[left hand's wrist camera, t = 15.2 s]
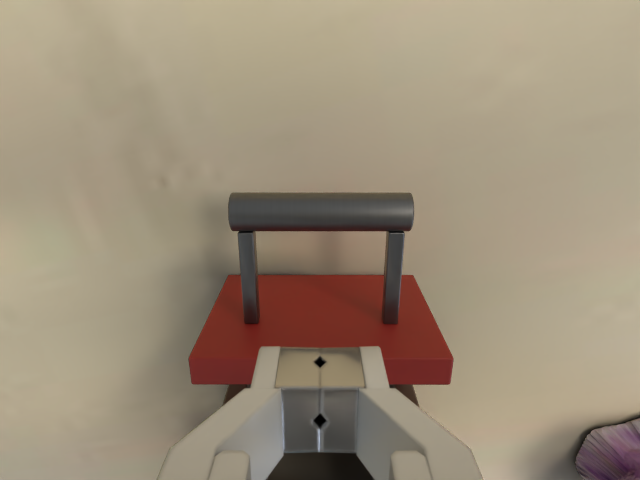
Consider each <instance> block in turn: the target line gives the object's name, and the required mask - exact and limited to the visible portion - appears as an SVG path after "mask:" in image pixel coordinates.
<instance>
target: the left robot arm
mask: <svg viewBox="0 0 640 480" xmlns="http://www.w3.org/2000/svg"><path fill="white" fill-rule="evenodd" d="M311 452H328V453H357V454H356V455H357V456H358V458H359V459H360V461H361V462H362V463H363V465H364V466H365V467H366V469H367V470H368V471H369V473H370V474H371V476H372V477H373V478H374V480H483V477H482V475H481V473H480V470H479V468H478V465H477V463H476V460H475V458H474V456H473V453H472V451H471V449H470V448H469V447H467V446H466V445H465V444H464V443H462V442H461V441H460V440H459V439H457V438H456V437H455V436H454V435H453V434H451V433H450V432H449V431H448V430H446V429H445V428H444V427H443V426H441V425H440V424H439V423H438V422H436V421H435V420H434V419H433V418H432V417H430V416H429V415H428V414H427V413H425V412H424V411H423V410H422V409H420V408H419V407H418V406H417V405H415V404H414V403H413V402H412V401H411V400H409V399H408V398H407V397H406V396H404V395H403V394H402V393H401V392H399V391H398V390H397V389H396V388H390V387H389V383H388V379H387V374H386V370H385V366H384V362H383V357H382V353H381V349H380V347H379V346H365V347H335V348H320V347H285V346H281V347H280V346H261V348H260V349H259V353H258V357H257V361H256V366H255V370H254V374H253V379H252V383H251V387H250V388H244V389H243V390H242V391H241V392H239V393H238V394H237V395H236V396H234V397H233V398H232V399H231V400H229V401H228V402H227V403H226V404H224V405H223V406H222V407H221V408H219V409H218V410H217V411H216V412H215V413H213V414H212V415H211V416H210V417H208V418H207V419H206V420H205V421H203V422H202V423H201V424H200V425H198V426H197V427H196V428H195V429H193V430H192V431H191V432H190V433H188V434H187V435H186V436H185V437H183V438H182V439H181V440H180V441H179V442H177V443H176V444H175V445H174V446H172V447H171V448H170V449H169V451H168V454H167V456H166V458H165V461H164V463H163V466H162V468H161V470H160V473H159V475H158V478H157V480H266V479H267V477H268V476H269V475H270V473H271V472H272V470H273V469H274V468H275V466H276V465H277V464H278V462H279V461H280V460H281V458H282V457H283V456H284V454H283V453H311Z"/></svg>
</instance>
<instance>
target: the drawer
mask: <svg viewBox="0 0 640 480" xmlns="http://www.w3.org/2000/svg"><path fill="white" fill-rule="evenodd" d="M228 217H229V224H230V228H231V230H232V231H239V232H238V244H239V258H240V272H241V275H228V277H227V279H226V281H225V283H224V285H223V288H222V290H221V292H220V294H219V296H218V298H217V300H216V302H215V304H214V306H213V308H212V310H211V312H210V315H209V317H208V319H207V321H206V323H205V325H204V327H203V329H202V331H201V333H200V335H199V337H198V340H197V342H196V344H195V346H194V348H193V350H192V352H191V354H190V356H189V366H190V374H191V382H192V384H229V386H228V389H227V393H226V396H225V399H224V402H223V405H224V404H226V403H227V402H228V401H229V400H231V399H232V398H233V397H234V396H236V395H237V394H238V393H239V392H241V391H242V390H243V389H244V388H250V387H251V383H252V379H253V374H254V370H255V366H256V361H257V357H258V353H259V349H260V348H261V346H280V347H281V346H285V347H320V348H335V347H365V346H379V347H380V349H381V353H382V357H383V362H384V366H385V370H386V374H387V379H388V383H389V387H390V388H396V389H397V390H398V391H399V392H401V393H402V394H403V395H404V396H406V397H407V398H408V399H409V400H411V401H412V402H413V403H414V404H415V405H417V406H418V407H419V404H418V401H417V398H416V394H415V391H414V388H413V385H448V384H450V382H451V374H452V367H453V356H452V354H451V352H450V350H449V348H448V346H447V344H446V342H445V340H444V338H443V336H442V334H441V332H440V330H439V328H438V325H437V323H436V321H435V319H434V317H433V315H432V313H431V311H430V309H429V307H428V305H427V303H426V301H425V299H424V297H423V295H422V292H421V290H420V288H419V286H418V284H417V282H416V280H415V278H414V276H413V275H401V274H402V261H403V248H404V231H410V230H411V229H412V226H413V220H414V202H413V197H412V194H411V193H231V195H230V198H229V204H228ZM255 231H387V233H386V250H385V267H384V275H258V269H257V251H256V233H255ZM283 454H284V456H283V457H282V458H281V460H280V461H279V462H278V464H277V465H276V466H275V468H274V469H273V470H272V472H271V473H270V475H269V476H268V477H267V479H266V480H374V478H373V477H372V476H371V474H370V473H369V471H368V470H367V469H366V467H365V466H364V465H363V463H362V462H361V461H360V459H359V458H358V456H357V455H356V454H357V453H328V452H311V453H283Z"/></svg>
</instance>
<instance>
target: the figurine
mask: <svg viewBox="0 0 640 480" xmlns="http://www.w3.org/2000/svg"><path fill="white" fill-rule="evenodd" d="M575 463H576V466H575V467H576V469H577V471H578V473H579V474H580V476H581V477H582V478H583V479H584V480H640V418H639V419H635V420H632V421H629V422H626V423H625V424H619V425H611V426H605V427H602V428H598V429H594V430H592V431H591V433H590V434H588V435H587V437H586V438H585V441H584V444H582V447H581V448H580V450H579V453H578V454H577V457H576V461H575Z"/></svg>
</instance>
